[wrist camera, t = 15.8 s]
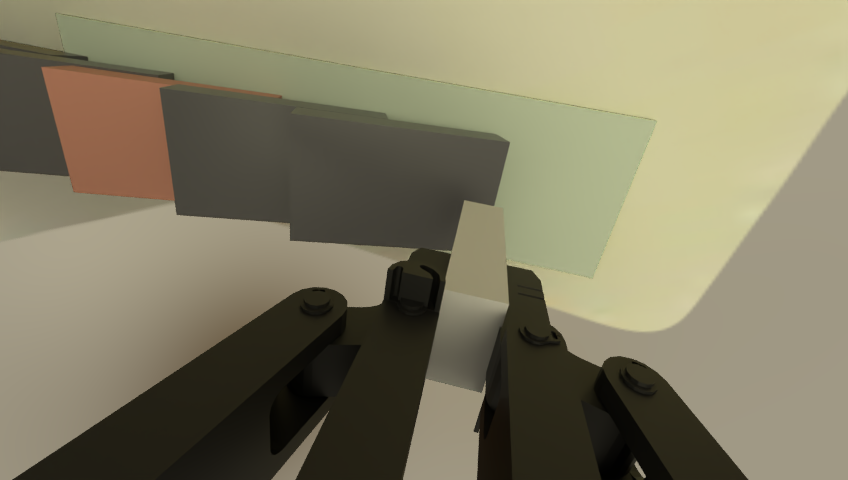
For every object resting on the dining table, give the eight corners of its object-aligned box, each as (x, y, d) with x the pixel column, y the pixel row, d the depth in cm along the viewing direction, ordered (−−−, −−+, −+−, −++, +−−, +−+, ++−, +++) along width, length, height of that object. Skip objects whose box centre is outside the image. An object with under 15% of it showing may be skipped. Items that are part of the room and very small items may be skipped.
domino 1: (173, 73, 21) (-48, 41, 19) (158, 75, 19) (-88, 40, 17) (186, 174, 24) (-7, 157, 22) (173, 184, 22) (-39, 167, 20)
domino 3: (496, 134, 20) (296, 106, 17) (510, 142, 18) (290, 113, 16) (472, 236, 22) (295, 223, 20) (482, 252, 20) (290, 240, 18)
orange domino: (281, 95, 21) (71, 65, 19) (274, 99, 19) (41, 66, 17) (282, 197, 23) (97, 180, 21) (276, 208, 21) (73, 192, 19)
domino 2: (385, 113, 20) (178, 84, 18) (388, 119, 18) (159, 87, 16) (374, 215, 23) (192, 200, 20) (376, 229, 21) (176, 214, 19)
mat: (60, 13, 21) (55, 13, 21) (654, 120, 18) (657, 120, 18) (95, 167, 25) (90, 168, 25) (591, 276, 22) (592, 278, 22)
